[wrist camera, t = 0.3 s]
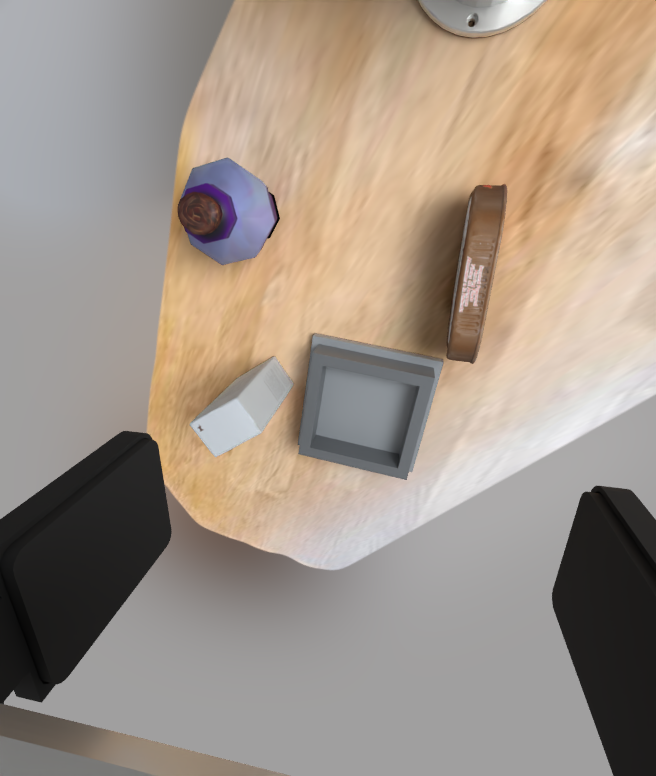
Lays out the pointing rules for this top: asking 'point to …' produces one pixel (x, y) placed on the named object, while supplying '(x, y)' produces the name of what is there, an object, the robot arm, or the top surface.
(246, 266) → the top surface
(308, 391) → the grey square tray
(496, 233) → the tin
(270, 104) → the top surface
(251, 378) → the skincare box
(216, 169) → the potion bottle
